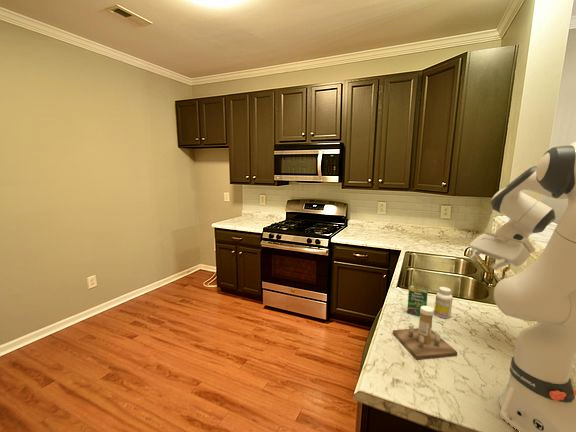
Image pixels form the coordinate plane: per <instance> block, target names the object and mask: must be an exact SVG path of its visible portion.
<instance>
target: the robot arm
mask: <svg viewBox="0 0 576 432" xmlns="http://www.w3.org/2000/svg"><path fill="white" fill-rule="evenodd" d="M525 190H526V191H531V192H534V193H537V194H540V195H542V196H545V197H548V198H552V199H555V200H556V199H557V200H567V205H566V208H565V210H564V212H563V214H562V216H561V217H560V219H559V221H558V222H557V225H556V226H555V228H554V230H553V233H552V234H551V237H550V239H549V241H548V242H547V244H546V246H545V248H544V249H543V251H542V252H541V254H540V255H539V256H538V258H537V257H536V259H535V260H534V261H533V262H532V263H530V264H529V265H528V266H526V268H523V269H522V270H521V271H519V272H518V273H515V274H513V275H511V276H508V277H505V278H502V279H500V280H498V282H497V283H496V285H495V287H494V290H493V300H494V303H495V305H496V307H497V308H498V309H499V310H500V311H501V313H503V315H505V316H508V317H511V318H514V319H517V320H522V321H526V322H534V323H535V324H534V323H533V325H530V326H528V327H526V328H524V329H522V330H521V331H519V333H518V335H517V338H516V343H515V349H514V356H512V357H511V361H510V365H509V373H510V374H509V378H508V381H507V384H506V386H505V388H504V391H503V392H502V393H501V395H500V396H499V399H498V403H499V406H500V413H499V417H500V418H501V420H503V419H504V420H505V421H504V420H503V421H504V422H505V423H507V424H508V423H509V424H510V425H509V424H508V425H509V426H510V427H512V428H513V427H514V428H515V429H514V428H513V429H514V430H516V429H517V430H518V431H520V432H576V389H574V387H573V383H572V380H571V378H570V377H571V376H570V375H571V372H572V367H573V365H574V361H575V358H576V141H574V142H572V143H570V144H569V145H559V146H555V147H551V148H550V149H548V150H547V151H546V152H545V153H544V154H543V156H542V157H541V158H540V160H539V161H538V164H537V166H536V165H534V166H532V167H530V168H528V169H526V170H524V172H522V173H521V174H520V175H519V176H517V177H516V178H514V179H513V180H512V181H511V182H510V183H509V184H507V185H506V186H505V187H503V188H501V189H499V190H498V191H497V192H495V194H494V195H493V196H492V198H491V200H490V204H491V205H490V206H491V209H492V210H494V211H495V212H496V213H497V212H498V213H500V214H502V215H503V216H505V217H507V218H508V221H507V222H505V223H503V224H502V226H500V227H499V228H498V229H497V230H496V231H495V232H494V233H490V232H487V233H482V234H480V235H478V236H476V238H474V239H473V240H472V241H471V242H470V244H469V248H470V249H471V250H472V255H471V256H470V257H469V258H470V260H471V261H472V262H477V261H478V260H479V258H478V257H479V256H480V255H484V256H486V257H490V258H493V259H494V260H497V261H498V262H493V263H492V264H491V265H490V268H491V269H492V270H495V271H498V270H499V269H500V268H502V267H505V266H507V265H508V264H509V265H512V266H515V267H519V266H522V265H523V264H524V263H525V262H526V261H527V260H528V259H530V256H531V254H532V253H534V252H535V251H536V249H535V247H534V245H533V244H532V243H531V242H530V240H529V237H530V236H531V235H533V234H538V233H542V232H544V231H545V230H546V228H547V227H548V226H549V225H550V224H551V223H553V222H554V221H555V219H556V213H555V209H554V208H552V207H550V206H549V205H547V204H545V203H544V202H542V201H540V200H537V199H536V198H533V197H532V196H530V195H528V194H526V193H524V192H523V191H525ZM517 430H516V431H517ZM518 431H517V432H518Z"/></svg>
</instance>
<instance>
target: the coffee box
mask: <svg viewBox="0 0 576 432" xmlns="http://www.w3.org/2000/svg"><path fill="white" fill-rule="evenodd" d="M428 294H429V289H428V288H426V287H419V286H415V285H409V287H408V294H407V296H408V297H407V311H406V313H407V314H409V315H413V316H417V317H420V307H421V306H428Z"/></svg>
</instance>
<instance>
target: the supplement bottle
mask: <svg viewBox="0 0 576 432" xmlns="http://www.w3.org/2000/svg"><path fill="white" fill-rule="evenodd" d="M438 288H439V289H438V290H439V291H438V292H437V293H436V294H435V304H434V314H435V315H436V316H437V317H439V318H444V319H448V318H450V317H451V315H452V305H453V300H454V297H453V295H452V294H451V293H452V289H450V288H449V287H446V286H440V287H438Z"/></svg>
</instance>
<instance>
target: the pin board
mask: <svg viewBox="0 0 576 432" xmlns="http://www.w3.org/2000/svg"><path fill="white" fill-rule="evenodd" d="M408 326H409V327H408V328H404V329H394V330H392V335H393V336H395V338H396V339H397V341H399V342H400V343H401V345H402V346H404V348H405V349H406V350H407V351H408V352H409V353H410V354H411V355H412V356H413V358H414V359H415V360H418V361H420V360H428V359H437V358H448V357H449V358H450V357H457V356H458V351H457V350H456V349H454V347H452V346H451V345H450V344H449V343H447V341H445V340H444V339H443V338H441V334H439V333H436V332H435V331H434V330H432V329H431V337H430V343H429V344H424V336H422V335H420V336H419V340H418V330H419V327H417V328H416V327H415V328H414V326H413V325H408Z"/></svg>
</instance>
